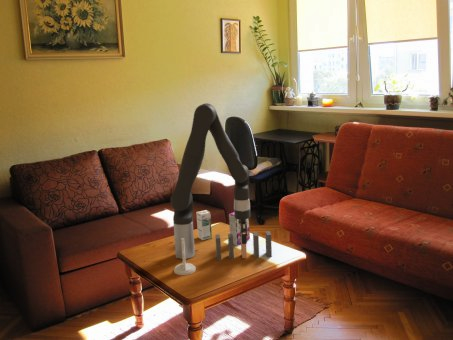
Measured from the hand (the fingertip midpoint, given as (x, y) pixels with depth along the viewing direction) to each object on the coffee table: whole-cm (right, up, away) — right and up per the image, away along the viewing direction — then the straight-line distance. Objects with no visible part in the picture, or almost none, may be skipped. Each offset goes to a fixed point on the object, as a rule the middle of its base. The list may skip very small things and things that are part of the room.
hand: (243, 240), depth 225 cm
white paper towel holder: (-27, -12, -10) cm, 31 cm away
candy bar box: (-1, -4, +20) cm, 21 cm away
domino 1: (-12, -9, +1) cm, 14 cm away
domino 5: (+12, -7, +3) cm, 14 cm away
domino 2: (-6, -8, +1) cm, 10 cm away
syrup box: (-19, -3, +28) cm, 34 cm away
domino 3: (0, -8, +2) cm, 8 cm away
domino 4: (+6, -8, +2) cm, 10 cm away
